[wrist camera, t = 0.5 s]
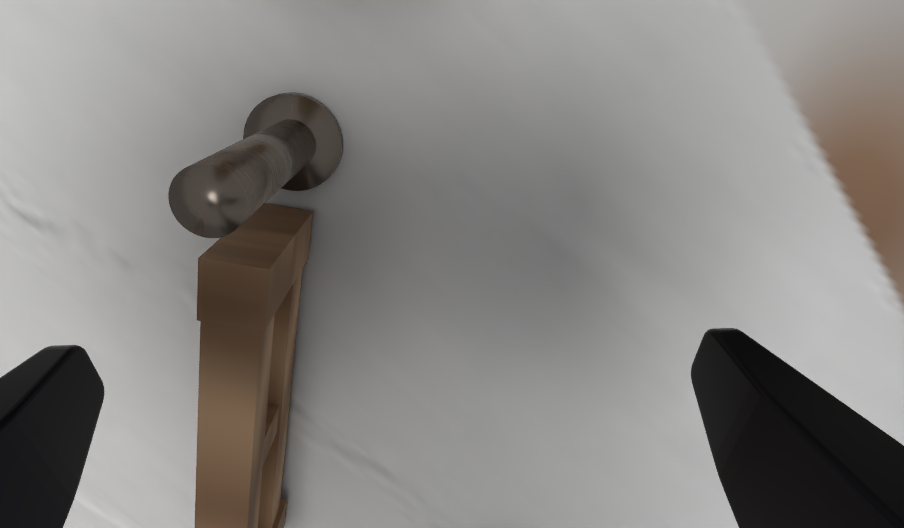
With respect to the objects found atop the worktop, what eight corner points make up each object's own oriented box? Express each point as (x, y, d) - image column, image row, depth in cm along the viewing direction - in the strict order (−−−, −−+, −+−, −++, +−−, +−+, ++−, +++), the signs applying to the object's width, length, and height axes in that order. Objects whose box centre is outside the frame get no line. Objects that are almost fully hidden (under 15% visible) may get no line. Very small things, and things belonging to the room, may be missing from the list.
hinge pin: (360, 158, 20) (313, 228, 12) (284, 203, 20) (196, 296, 13) (307, 74, 19) (221, 94, 11) (228, 123, 19) (96, 174, 12)
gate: (257, 201, 20) (194, 257, 15) (316, 211, 20) (273, 269, 15) (237, 529, 25) (185, 655, 20) (283, 535, 25) (243, 661, 20)
